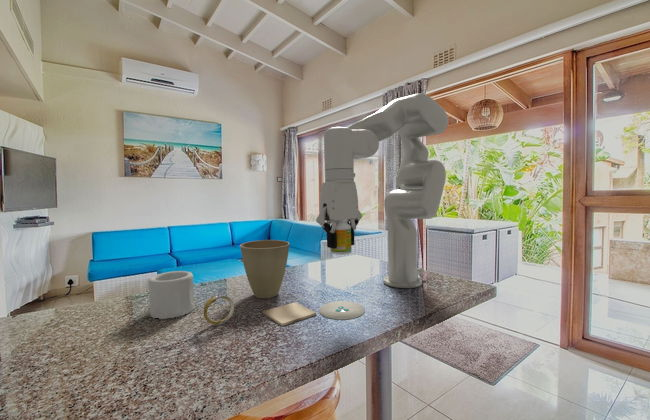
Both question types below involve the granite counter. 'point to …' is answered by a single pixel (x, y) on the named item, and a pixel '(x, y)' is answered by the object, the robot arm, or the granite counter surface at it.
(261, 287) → the plant pot
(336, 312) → the coaster
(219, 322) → the ring
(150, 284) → the mug
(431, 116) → the robot arm
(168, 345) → the granite counter surface
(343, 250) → the supplement bottle
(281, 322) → the wooden mat
